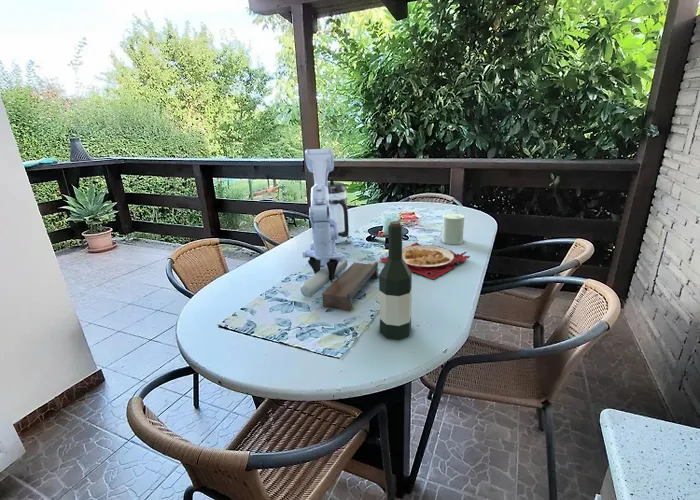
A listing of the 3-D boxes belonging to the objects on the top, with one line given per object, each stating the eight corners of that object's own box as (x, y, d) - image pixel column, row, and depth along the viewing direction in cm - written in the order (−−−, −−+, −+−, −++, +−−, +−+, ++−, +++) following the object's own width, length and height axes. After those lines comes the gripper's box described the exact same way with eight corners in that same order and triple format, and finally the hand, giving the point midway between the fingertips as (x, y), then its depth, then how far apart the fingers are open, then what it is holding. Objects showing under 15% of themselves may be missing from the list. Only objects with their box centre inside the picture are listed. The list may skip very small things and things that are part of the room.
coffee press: (312, 247, 163) (307, 180, 153) (327, 236, 177) (323, 174, 167) (348, 250, 157) (345, 180, 147) (361, 239, 171) (358, 174, 161)
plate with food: (416, 246, 159) (416, 239, 158) (470, 259, 141) (470, 251, 140) (378, 262, 144) (378, 254, 143) (433, 279, 126) (433, 270, 125)
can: (452, 245, 157) (453, 218, 153) (437, 240, 165) (438, 214, 160) (467, 241, 161) (469, 215, 157) (452, 236, 169) (453, 211, 165)
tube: (313, 289, 111) (349, 259, 132) (298, 281, 113) (336, 253, 133) (310, 302, 114) (345, 271, 134) (295, 295, 115) (333, 265, 136)
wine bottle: (377, 324, 101) (375, 219, 90) (407, 321, 101) (408, 216, 91) (382, 341, 93) (380, 228, 83) (414, 338, 94) (417, 226, 83)
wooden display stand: (323, 306, 112) (321, 290, 110) (354, 273, 134) (354, 259, 132) (350, 311, 108) (349, 294, 106) (378, 276, 131) (377, 261, 129)
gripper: (296, 242, 118) (300, 280, 123) (337, 246, 113) (339, 286, 118) (307, 236, 124) (310, 272, 129) (346, 239, 119) (348, 277, 124)
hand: (325, 278), depth 124 cm, fingers closed on tube, 4 cm apart
